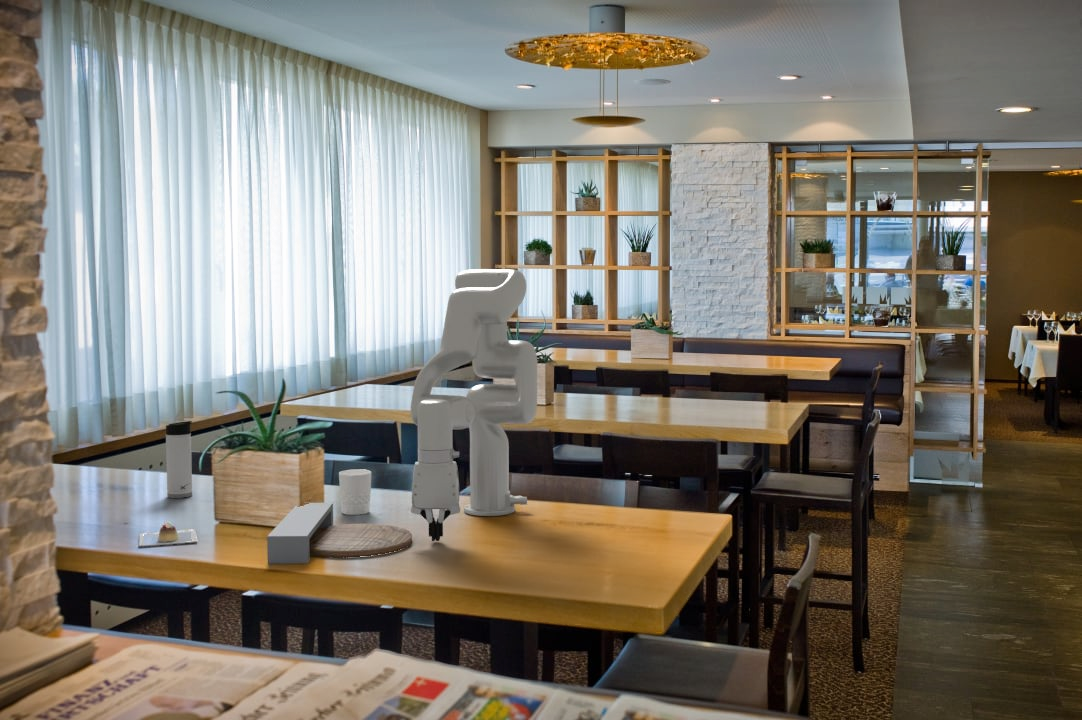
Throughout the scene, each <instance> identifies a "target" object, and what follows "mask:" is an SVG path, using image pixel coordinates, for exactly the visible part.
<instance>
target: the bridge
mask: <svg viewBox="0 0 1082 720" xmlns="http://www.w3.org/2000/svg"><path fill="white" fill-rule="evenodd" d="M308 503H309V504H306V505H304V506H300V507H297V506H296V505H295V506H294V507H293V508H292V509H291V510H290V511H289V512H288V514H286V515H285V517H284V518H283V519H282V520H281V521H280V522H279V523H278V524H277V525H276V526H275V527H274V528H273V529H272V531H270V532H269V534H268V535H266V538H267V541H266V542H267V543H266V547H267V564H270V565H271V564H308V563H309V562H310V560H311V558H310V556H311V555H310V551H309V539H310V537H311V536H312V535H313V533H314V532H315V531H316V530H317V528H322V527H327V526H334V502H308Z"/></svg>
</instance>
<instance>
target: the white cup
mask: <svg viewBox="0 0 1082 720" xmlns="http://www.w3.org/2000/svg"><path fill="white" fill-rule="evenodd" d="M338 480H339V483H338V484H339V495H340V496H339V497H340V503H341V504H340V505H341V507H340V508H341V513H342V514H343V515H346V516H347V515H349V516H360V514H362V515H365V514H369V513H370V511H371V509H370V507H371V506H370V505H371V494H372V493H371V491H372V471H371V470H368V469H347V470H342V471H339V472H338Z"/></svg>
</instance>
